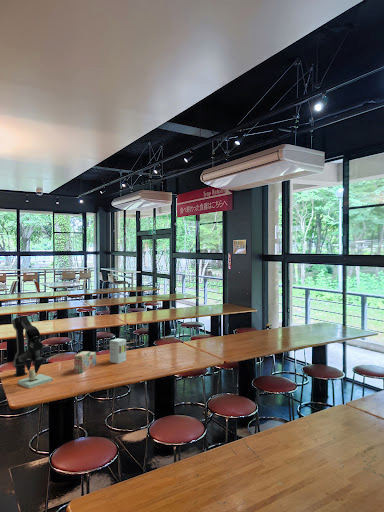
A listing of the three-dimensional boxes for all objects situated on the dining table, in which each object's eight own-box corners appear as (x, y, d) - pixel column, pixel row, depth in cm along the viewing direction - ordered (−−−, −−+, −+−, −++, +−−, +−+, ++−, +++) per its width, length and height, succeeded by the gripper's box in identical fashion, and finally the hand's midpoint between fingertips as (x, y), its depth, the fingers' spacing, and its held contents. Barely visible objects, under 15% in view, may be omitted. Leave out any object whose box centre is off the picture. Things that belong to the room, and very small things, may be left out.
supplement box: (118, 363, 264) (118, 341, 264) (109, 362, 269) (109, 340, 269) (126, 360, 272) (126, 339, 273) (117, 358, 277) (117, 337, 277)
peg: (27, 383, 225) (27, 371, 225) (33, 381, 228) (33, 369, 228) (30, 384, 222) (30, 372, 222) (37, 382, 226) (37, 370, 226)
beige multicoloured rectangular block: (88, 363, 266) (88, 347, 266) (96, 364, 264) (96, 348, 264) (74, 373, 245) (74, 355, 245) (82, 373, 243) (82, 355, 243)
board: (17, 383, 224) (17, 380, 224) (41, 376, 237) (41, 373, 237) (29, 388, 216) (29, 385, 216) (52, 380, 229) (52, 377, 229)
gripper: (12, 348, 224) (12, 372, 224) (27, 352, 213) (27, 378, 213) (29, 344, 233) (29, 368, 233) (44, 348, 222) (44, 373, 222)
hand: (32, 371), depth 225 cm, fingers open, 9 cm apart
